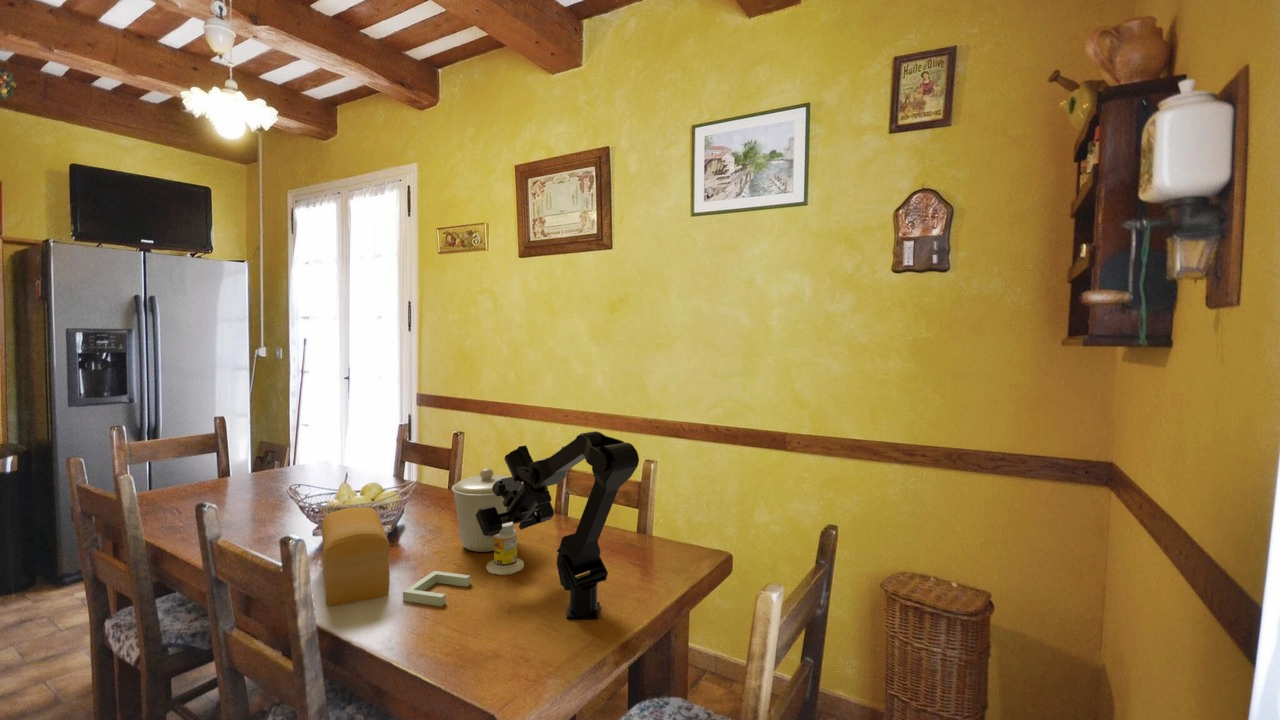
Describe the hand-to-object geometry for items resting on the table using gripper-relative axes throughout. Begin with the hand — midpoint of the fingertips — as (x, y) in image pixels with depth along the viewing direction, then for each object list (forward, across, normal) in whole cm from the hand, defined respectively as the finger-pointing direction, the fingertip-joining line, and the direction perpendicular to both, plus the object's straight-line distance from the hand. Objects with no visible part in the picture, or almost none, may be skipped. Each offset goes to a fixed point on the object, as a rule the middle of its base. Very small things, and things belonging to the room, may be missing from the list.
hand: (503, 532), depth 148 cm
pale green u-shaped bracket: (+4, +18, +8) cm, 20 cm away
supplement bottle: (+5, 0, +6) cm, 8 cm away
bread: (+18, +30, -5) cm, 35 cm away
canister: (+18, -4, -5) cm, 19 cm away
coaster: (+6, 0, +7) cm, 9 cm away
